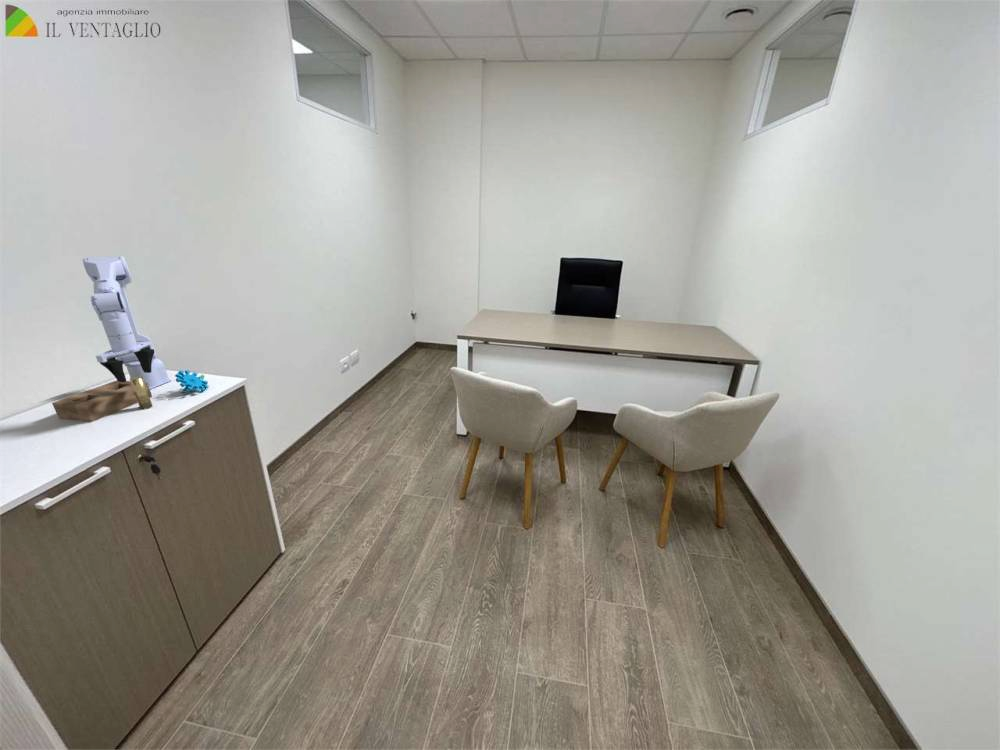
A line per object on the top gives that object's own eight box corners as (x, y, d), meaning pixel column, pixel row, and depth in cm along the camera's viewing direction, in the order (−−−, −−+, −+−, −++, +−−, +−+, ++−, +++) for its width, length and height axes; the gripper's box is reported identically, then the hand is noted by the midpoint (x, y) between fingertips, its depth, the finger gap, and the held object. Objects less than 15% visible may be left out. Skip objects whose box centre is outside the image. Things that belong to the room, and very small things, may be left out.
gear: (196, 393, 131) (170, 372, 129) (185, 405, 132) (159, 385, 130) (218, 384, 141) (194, 365, 140) (208, 395, 142) (184, 376, 140)
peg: (147, 404, 126) (136, 375, 122) (155, 405, 126) (144, 376, 122) (137, 408, 123) (126, 379, 120) (145, 409, 123) (135, 380, 119)
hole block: (122, 393, 134) (117, 380, 132) (152, 396, 132) (147, 382, 130) (58, 418, 117) (51, 403, 115) (91, 421, 115) (85, 406, 113)
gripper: (104, 341, 108) (121, 387, 113) (155, 328, 122) (168, 369, 127) (83, 340, 109) (101, 385, 114) (136, 327, 123) (150, 367, 128)
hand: (135, 376), depth 121 cm, fingers open, 7 cm apart
